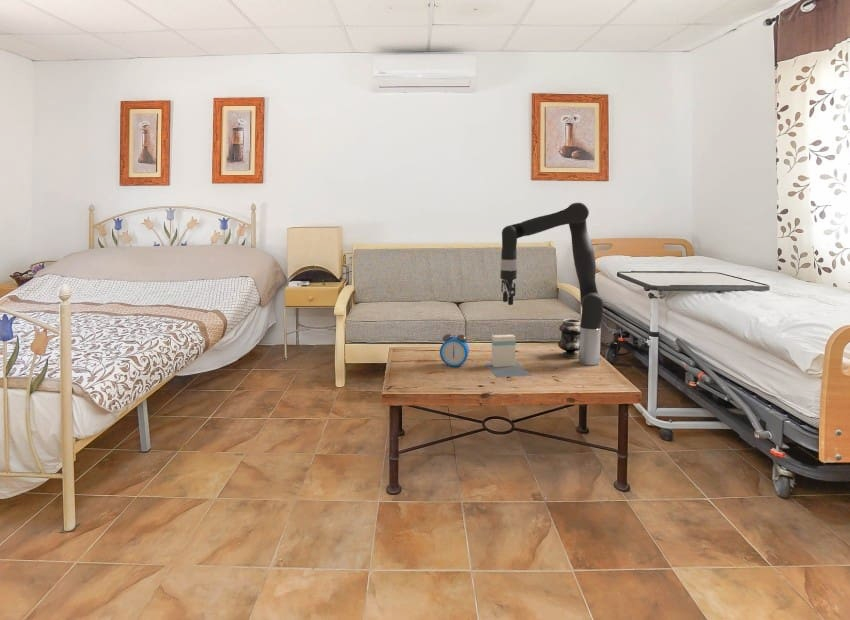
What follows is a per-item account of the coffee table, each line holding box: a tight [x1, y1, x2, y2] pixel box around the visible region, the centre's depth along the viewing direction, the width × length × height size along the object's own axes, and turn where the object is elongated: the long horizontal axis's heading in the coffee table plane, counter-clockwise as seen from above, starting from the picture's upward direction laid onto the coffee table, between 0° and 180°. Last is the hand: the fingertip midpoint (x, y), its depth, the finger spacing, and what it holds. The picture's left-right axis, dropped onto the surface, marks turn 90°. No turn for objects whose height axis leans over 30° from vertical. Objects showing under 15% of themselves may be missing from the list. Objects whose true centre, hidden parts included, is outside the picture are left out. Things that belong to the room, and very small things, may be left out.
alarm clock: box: [439, 333, 470, 368], centre depth 246 cm, size 13×6×15 cm, turn 77°
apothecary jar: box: [557, 318, 581, 359], centre depth 261 cm, size 12×12×18 cm
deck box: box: [491, 334, 517, 367], centre depth 244 cm, size 4×10×14 cm, turn 98°
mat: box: [483, 361, 532, 378], centre depth 240 cm, size 22×16×1 cm
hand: (507, 303), depth 250 cm, fingers open, 8 cm apart
